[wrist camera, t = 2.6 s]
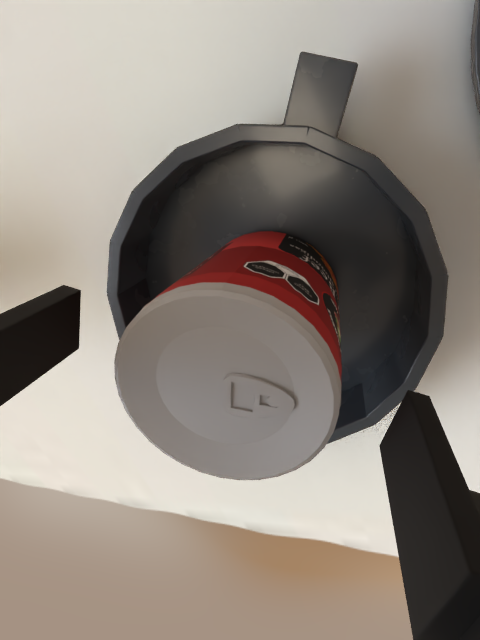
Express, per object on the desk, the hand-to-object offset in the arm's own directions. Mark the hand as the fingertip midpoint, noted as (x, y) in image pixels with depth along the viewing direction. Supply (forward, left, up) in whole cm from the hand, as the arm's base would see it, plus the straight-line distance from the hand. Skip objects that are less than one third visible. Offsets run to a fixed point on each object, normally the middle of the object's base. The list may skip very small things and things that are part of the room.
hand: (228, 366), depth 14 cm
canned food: (0, 0, -9) cm, 9 cm away
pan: (0, 0, -9) cm, 9 cm away
